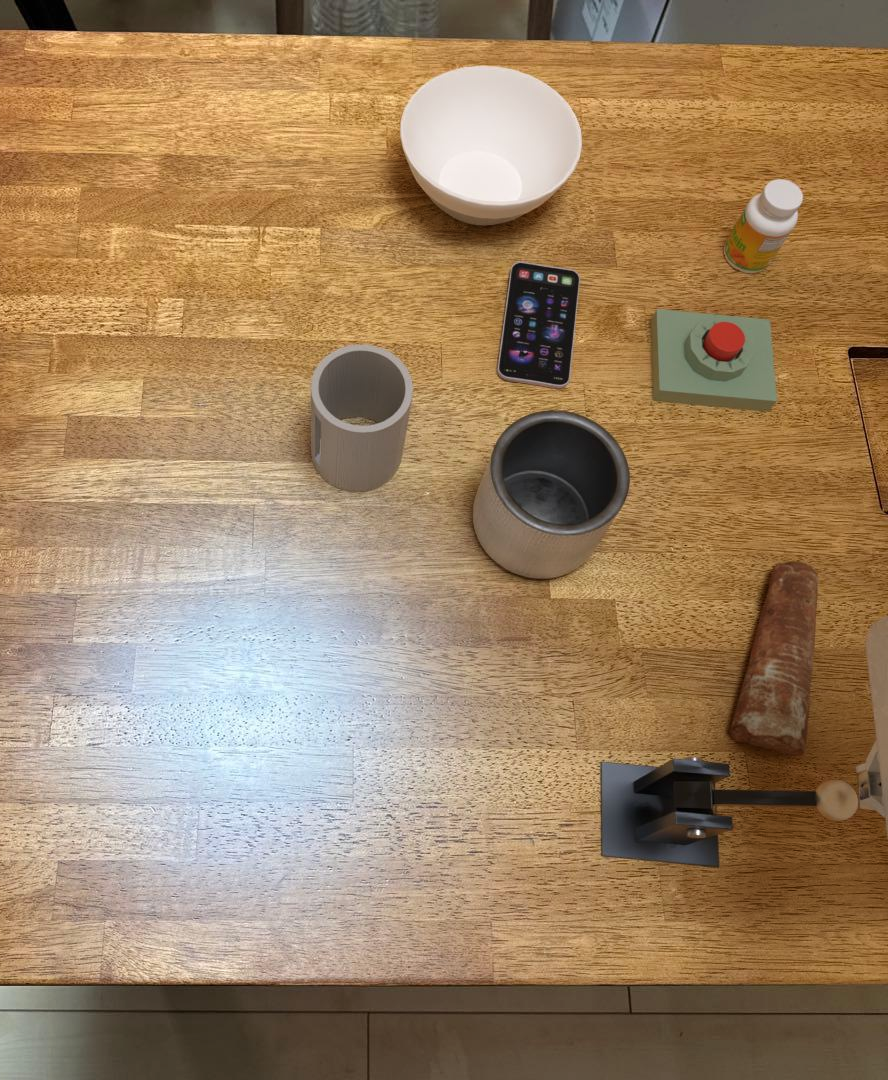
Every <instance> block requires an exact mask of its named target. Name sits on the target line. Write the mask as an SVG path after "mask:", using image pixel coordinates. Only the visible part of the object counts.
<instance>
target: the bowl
mask: <svg viewBox="0 0 888 1080" xmlns="http://www.w3.org/2000/svg"><path fill="white" fill-rule="evenodd" d="M399 139H400V142H401V147H402V151H403V153H404V156H405V159H406V162H407V164H408V167H409V169H410V171H411V174H412V175H413V178H414V179H415V182H416V183H417V184H418V185H419V186H420V187H421V189H422V190H423V191H424V193H425V194H426V196H428V198H429V199H430V200H431V201H432V202H433V204H434V205H435V206H437V207H438V209H440V210H441V211H442V212H444V213H446V214H447V215H448V216H450V217H451V218H454V219H455V220H457V221H459V222H463V223H465V224H469V225H473V226H485V227H486V226H494V225H499V224H504V223H507V222H511V221H514V220H516V219H518V218H521V217H522V216H524V215H525V214H528V213H530V212H531V211H533V210H535V209H537V208H539V207H540V206H542V205H543V204H544V203H546V202H547V201H548V200H550V199H551V197H552V196H553V195H555V194H556V192H558V191H559V190H560V188H561V187H562V186H563V185H564V184H565V183H566V182H567V181H568V180H569V178H570V177H571V176H572V174H574V172H575V170H576V168H577V166H578V163H579V162H580V159H581V154H582V148H583V138H582V129H581V127H580V123H579V120H578V117H577V116H576V114H575V112H574V110H573V109H572V107H571V106H570V104H569V103H568V102H567V101H566V99H565V98H564V97H563V96H562V95H561V94H560V93H559V92H558V91H556V90H555V89H554V88H553V87H551V86H550V85H548V83H546V82H544V81H542V80H540V79H539V78H536V77H534V76H533V75H530V74H528V73H524V72H522V71H519V70H517V69H513V68H507V67H502V66H498V65H497V66H494V65H492V66H491V65H473V66H464V67H459V68H456V69H452V70H447V71H445V72H444V73H441V74H439V75H437V76H434V77H432V78H431V79H430V80H428V81H427V82H426V83H424V84H422V85H421V86H420V87H419V88H418V89H417V90H416V91H415V92H414V93H413V94H412V95H411V97H410V98H409V100H408V101H407V103H406V105H405V107H404V108H403V110H402V115H401V118H400V122H399Z"/></svg>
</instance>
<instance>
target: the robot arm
mask: <svg viewBox="0 0 888 1080" xmlns="http://www.w3.org/2000/svg"><path fill="white" fill-rule="evenodd" d="M864 646H865V653H866V663H867V671H868V681H869V686H870V687H869V690H870V697H871V706H872V714H873V715H872V716H873V723H874V733H875V739H876V740H874V743H873V744H872V746H871V749H870V751H869V753H868V755H867V757H866V759H865V762H863V763H861V764H857V765H856V766H855V770H856V779H857V786H858V800H859V808H860V809H862V810H868V811H875V812H877V814H879V815H880V816H881V817H882V818H885V829H886V836H887V838H888V614H887V615H885V616H883V617H881V618H879V619H878V620H876V621H874V622H872V624H871V625H870V626H869V628H868V631H867V634H866V636H865V640H864Z"/></svg>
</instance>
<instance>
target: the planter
mask: <svg viewBox="0 0 888 1080" xmlns="http://www.w3.org/2000/svg"><path fill="white" fill-rule="evenodd" d="M630 473H631V472H630V467H629V463H628V460H627V456H626V454H625V452H624V450H623V448H622V447H621V445H620V443H619V442H618V441H617V440H616V439H615V437H614V436H613V435H612V434H611V433H610V432H609V431H608V430H607V429H606V428H605V427H603V426H602V425H601V424H599V423H597V422H596V421H594V420H593V419H591V418H589V417H587V416H585V415H581V414H579V413H576V412H572V411H567V410H559V409H558V410H557V409H549V410H540V411H535V412H532V413H529V414H526V415H524V416H522V417H520V418H518V419H516V420H515V421H514V422H512V423H511V424H509V425H508V426H507V427H505V430H503V432H502V433H501V434H500V436H499V437H498V438H497V440H496V442H495V444H494V446H493V449H492V452H491V453H490V457H489V459H488V462H487V465H486V468H485V471H484V473H483V476H482V478H481V481H480V483H479V486H478V489H477V491H476V494H475V496H474V500H473V505H472V523H473V529H474V532H475V535H476V537H477V538H476V539H477V540H478V542H479V544H480V545H481V547H482V549H483V550H484V551H485V553H486V554H487V555H488V556H489V558H491V559H492V560H493V561H494V562H495V563H496V564H497V565H499V566H500V567H502V568H504V569H505V570H507V571H508V572H510V573H513V574H514V575H518V576H520V577H521V576H522V577H525V578H530V579H536V580H544V579H545V580H547V579H554V578H559V577H562V576H565V575H567V574H570V573H572V572H574V571H575V570H578V568H580V567H581V566H583V564H585V563H586V562H587V561H588V560H589V559H590V558H591V556H592V555H593V554H594V553H595V551H596V550H597V548H598V546H599V545H600V543H601V541H602V540H603V538H604V537H605V535H606V534H607V531H608V530H609V529H610V527H611V525H612V524H613V522H614V521H615V519H616V518H617V516H618V514H619V513H620V512H621V510H622V508H623V506H624V504H625V502H626V500H627V498H628V495H629V490H630V484H631V474H630Z"/></svg>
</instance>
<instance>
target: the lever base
mask: <svg viewBox="0 0 888 1080" xmlns="http://www.w3.org/2000/svg"><path fill="white" fill-rule="evenodd" d="M599 763H600V764H599V766H600V768H599V769H600V771H599V772H600V779H599V781H600V856H601V857H606V858H616V859H626V860H636V861H647V862H659V863H668V864H677V865H687V866H688V865H689V866H698V867H709V868H720V851H719V835H720V834H724V833H727V832H730V831H732V830H733V831H734V824H733V823H734V821H733V816H731V815H720V814H718V813H717V812H718V811H717V806H715V811H716V813H715V814H701V813H691V812H680V811H677V810H676V809H675V798H674V780H706V781H711V782H712V784H713V786H714V789H716V784H717V783H719V782H721V781H724V780H725V779H728V778H730V777H731V770H730V763H726V762H725V763H724V762H716V761H706V760H705V761H704V760H703V758H701V757H697V756H688V757H684V758H671V759H670V760H668V761H667V762H665V763H663V764H661V765H660V766H653V765H644V764H643V765H642V764H632V763H621V762H612V761H611V762H609V761H600V762H599Z"/></svg>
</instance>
